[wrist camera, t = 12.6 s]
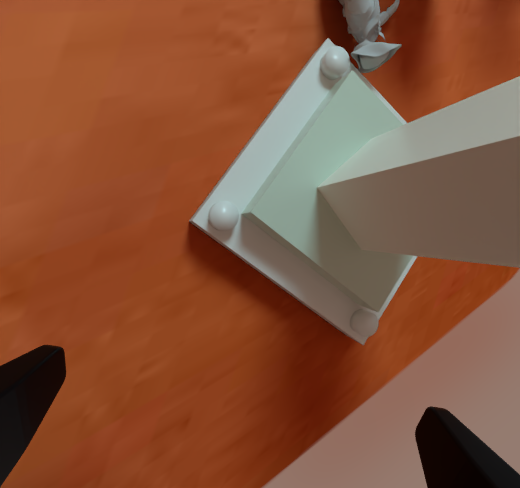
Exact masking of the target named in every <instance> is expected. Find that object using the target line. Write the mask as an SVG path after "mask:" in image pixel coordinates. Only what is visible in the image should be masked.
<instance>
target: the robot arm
mask: <svg viewBox="0 0 520 488" xmlns="http://www.w3.org/2000/svg"><path fill="white" fill-rule="evenodd" d="M65 377H66V365H65V353H64V350H63V348H62V347H58V346H52V345H43V346H40V347H38V348H36V349H34V350H32V351H30V352H28V353H26V354H24V355H22V356H20V357H18V358H16V359H14V360H12V361H9V362H7V363H5V364H3V365H1V366H0V487H1V485H2V484H3V482H4V481H5V479H6V478H7V476H8V475H9V473H10V472H11V471H12V469H13V468H14V466H15V465H16V463H17V462H18V460H19V459H20V457H21V456H22V454H23V453H24V451H25V450H26V448H27V446H28V445H29V443H30V441H31V440H32V438H33V436H34V434H35V433H36V431H37V429H38V427H39V425H40V424H41V422H42V420H43V418H44V416H45V415H46V413H47V411H48V409H49V408H50V406H51V404H52V402H53V400H54V399H55V397H56V395H57V393H58V392H59V390H60V388H61V386H62V384H63V382H64V380H65ZM415 437H416V442H417V446H418V450H419V454H420V459H421V463H422V467H423V471H424V475H425V479H426V483H427V487H428V488H520V475H519V474H518V473H517V472H516V471H515V470H514V469H513V468H512V467H510V466H509V465H508V464H507V463H506V462H505V461H504V460H503V459H502V458H500V457H499V456H498V455H497V454H496V453H495V452H494V451H493V450H491V449H490V448H489V447H488V446H487V445H486V444H485V443H484V442H483V441H481V440H480V439H479V438H478V437H477V436H476V435H475V434H474V433H473V432H471V431H470V430H469V429H468V428H467V427H466V426H465V425H464V424H463V423H461V422H460V421H459V420H458V419H457V418H456V417H455V416H453V414H451V413H450V412H449V411H448V410H446V409H443V408H438V407H428V408H427V409H426V410H425V412H424V414H423V416H422V418H421V420H420V422H419V423H418V425H417V428H416V432H415Z"/></svg>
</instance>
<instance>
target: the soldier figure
mask: <svg viewBox="0 0 520 488" xmlns="http://www.w3.org/2000/svg"><path fill="white" fill-rule="evenodd" d="M339 2H340V3H341V4H342V6H343V17H346V19H347V20H346V21H347V24H348V33H349V34H352V35H353V36H354V38H355V40H356V41H357V42H358V43H359V44H358V45H357V46H356V47H355V46H354V47H355V48H354V52H352V53H351V56H352V57H353V58H354V59H355V61H356V62H357V64H358V66H359V67H358V71H359V72H360V73H368V72H371V71H374V70H376V69H377V68H378V67H380V66H381V65H382V64H384V63H385V62H386V61H388V60H389V59H390V58H391V57H392V56H393V55H394V54H395V52H396V51H397V50H398V49H399V48H400V47H401V44H388V43H384V42H375V41H376V39H377V36H378V34H379V35H381V36H382V37H383V38H384V35H383V33H381V32H380V31H381V29H382V28H380V27H381V26H382V25H383V24H384V23H385V22H386V21H387V20H388V18H389V17H391V16H392V14H393V13H394V12H395V11H396V10H397V8H398V5H399V0H395V2H394V3H393V4H392V5H391V6H390V7H387V11H386V12H385V11H384V12H382V13H380V6H379V1H378V0H339ZM384 39H385V38H384ZM378 41H380V40H378ZM355 45H356V44H355Z"/></svg>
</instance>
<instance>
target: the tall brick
mask: <svg viewBox="0 0 520 488" xmlns="http://www.w3.org/2000/svg"><path fill="white" fill-rule="evenodd" d="M317 188H318V190H319V191H320V193H321V194H322V195H323V197H324V198H325V200H326V201H327V202H328V204H329V205H330V207H331V208H332V209H333V211H334V212H335V214H336V215H337V216H338V218H339V219H340V220H341V222H342V223H343V225H344V226H345V227H346V229H347V230H348V232H349V233H350V234H351V236H352V237H353V239H354V240H355V241H356V243H357V244H358V246H359V247H360V248H361V250H367V251H376V252H385V253H394V254H403V255H412V256H421V257H430V258H439V259H448V260H457V261H466V262H475V263H483V264H492V265H501V266H510V267H519V268H520V76H519V77H517V78H514V79H512V80H509V81H507V82H505V83H502V84H500V85H498V86H495V87H493V88H490V89H488V90H486V91H483V92H481V93H479V94H476V95H474V96H471V97H469V98H467V99H464V100H462V101H459V102H457V103H455V104H452V105H450V106H448V107H445V108H443V109H440V110H438V111H436V112H433V113H431V114H429V115H426V116H424V117H421V118H419V119H417V120H414V121H412V122H410V123H407V124H405V125H402V126H400V127H398V128H395V129H393V130H391V131H388V132H386V133H383V134H381V135H379V136H376V137H374V138H372V139H370V140H369V141H368V142H367V143H366V144H365V145H364V146H363V147H362V148H360V149H359V150H358V151H357V152H356V153H355V154H354V155H353V156H352V157H350V158H349V159H348V160H347V161H346V162H345V163H344V164H343V165H341V166H340V167H339V168H338V169H337V170H336V171H335V172H334V173H333V174H331V175H330V176H329V177H328V178H327V179H326V180H325V181H324V182H322V183H321V184H320V185H319V186H318V187H317Z"/></svg>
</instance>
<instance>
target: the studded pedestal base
mask: <svg viewBox="0 0 520 488" xmlns="http://www.w3.org/2000/svg"><path fill="white" fill-rule="evenodd" d="M405 124H407V122H406V121H405V120H404V119H403V118H402V117H401V116H400V115H399V114H398V113H397V112H396V110H395V109H394V108H393V107H392V106H391V105H390V104H389V103H388V102H387V101H386V100H385V99H384V98H383V96H382V95H381V94H380V93H379V92H378V91H377V90H376V89H375V88H374V87H373V86H372V85H371V83H370V82H369V81H368V80H367V79H366V78H365V77H364V76H363V75H362V74H361V73H360V72H359V71H358V69H357V68H356V67H355V66H354V65H353V64H352V63H351V62H350V58H349V55H348V53H347V51H346V50H345V49H344V48H342V47H340V46H335V45H334V44H333V42H332V41H331V40H330V39H329V38H327V39H326V41H325V42H324V43H323V44H322V45H321V46H320V47H319V49H318V50H317V51H316V52H315V53H314V54H313V55H312V57H311V58H310V59H309V61H308V62H307V63H306V65H305V66H304V67H303V69H302V70H301V71H300V73H299V74H298V76H297V77H296V78H295V80H294V81H293V82H292V84H291V85H290V86H289V88H288V89H287V90H286V92H285V93H284V94H283V96H282V97H281V98H280V100H279V101H278V102H277V104H276V105H275V106H274V108H273V109H272V110H271V112H270V113H269V114H268V116H267V117H266V119H265V120H264V121H263V123H262V124H261V125H260V127H259V128H258V129H257V131H256V132H255V133H254V135H253V136H252V137H251V139H250V140H249V141H248V143H247V144H246V145H245V147H244V148H243V149H242V151H241V152H240V153H239V155H238V156H237V157H236V159H235V160H234V161H233V163H232V164H231V166H230V167H229V168H228V170H227V171H226V172H225V174H224V175H223V176H222V178H221V179H220V180H219V182H218V183H217V184H216V186H215V187H214V188H213V190H212V191H211V192H210V194H209V195H208V196H207V198H206V199H205V200H204V202H203V203H202V204H201V206H200V207H199V209H198V210H197V211H196V213H195V214H194V215H193V217H192V218H191V219H190V221H189V222H191V223H192V224H193V225H195V226H196V227H197V228H199V229H200V230H202V231H203V232H204V233H206V234H207V235H208V236H210V237H211V238H213V239H214V240H215V241H217V242H218V243H220V244H221V245H222V246H224V247H225V248H226V249H228V250H229V251H231V252H232V253H233V254H235V255H236V256H237V257H239V258H240V259H242V260H243V261H244V262H246V263H247V264H249V265H250V266H251V267H253V268H254V269H255V270H257V271H258V272H260V273H261V274H262V275H264V276H265V277H266V278H268V279H269V280H271V281H272V282H273V283H275V284H276V285H278V286H279V287H280V288H282V289H283V290H284V291H286V292H287V293H289V294H290V295H291V296H293V297H294V298H295V299H297V300H298V301H300V302H301V303H302V304H304V305H305V306H306V307H308V308H309V309H311V310H312V311H313V312H315V313H316V314H318V315H319V316H320V317H322V318H323V319H324V320H326V321H327V322H329V323H330V324H331V325H333V326H334V327H335V328H337V329H338V330H340V331H341V332H342V333H344V334H345V335H347V336H348V337H350V338H352V339H353V340H355V341H357V342H359V343H360V344H362V345H364V343H365V342H366V340H367V338H368V337H369V336H372V335H373V334H374V333H375V332H376V330H377V328H378V320H379V319H380V317H381V315H382V314H383V312H384V310H385V309H386V307H387V305H388V304H389V302H390V300H391V299H392V297H393V295H394V294H395V292H396V291H397V289H398V287H399V286H400V284H401V282H402V281H403V279H404V277H405V276H406V274H407V272H408V271H409V269H410V268H411V266H412V264H413V263H414V261H415V259H416V258H417V256H412V255H403V254H394V253H385V252H376V251H367V250H361V248H360V247H359V246H358V244H357V243H356V241H355V240H354V239H353V237H352V236H351V234H350V233H349V232H348V230H347V229H346V227H345V226H344V225H343V223H342V222H341V220H340V219H339V218H338V216H337V215H336V214H335V212H334V211H333V209H332V208H331V207H330V205H329V204H328V202H327V201H326V200H325V198H324V197H323V195H322V194H321V193H320V191H319V190H318V188H317V187H318V186H319V185H320V184H321V183H322V182H324V181H325V180H326V179H327V178H328V177H329V176H330V175H331V174H333V173H334V172H335V171H336V170H337V169H338V168H339V167H340V166H341V165H343V164H344V163H345V162H346V161H347V160H348V159H349V158H350V157H352V156H353V155H354V154H355V153H356V152H357V151H358V150H359V149H360V148H362V147H363V146H364V145H365V144H366V143H367V142H368V141H369V140H370V139H372V138H374V137H376V136H379V135H381V134H383V133H386V132H388V131H391V130H393V129H395V128H398V127H400V126H402V125H405Z"/></svg>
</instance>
